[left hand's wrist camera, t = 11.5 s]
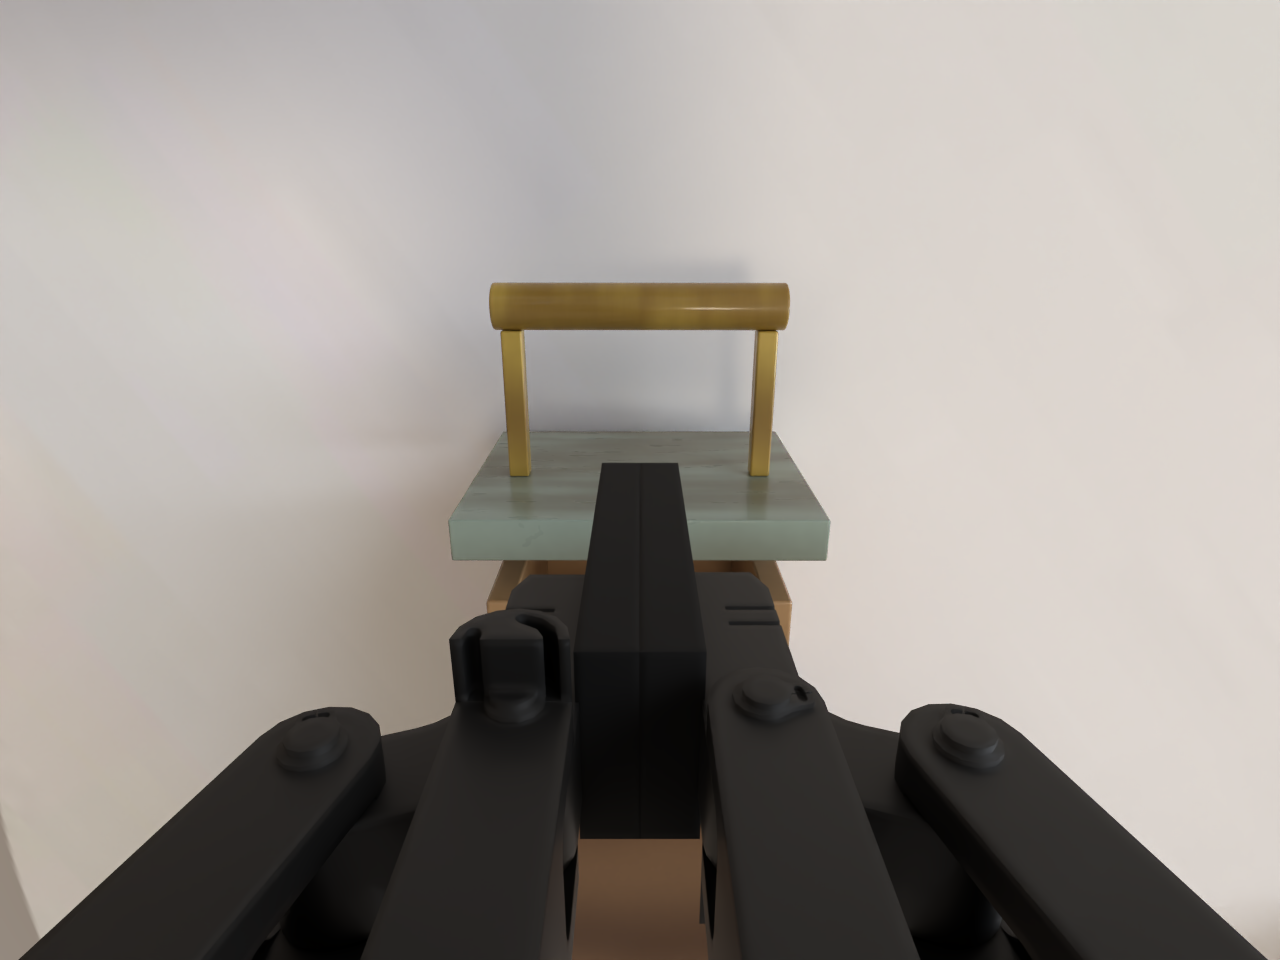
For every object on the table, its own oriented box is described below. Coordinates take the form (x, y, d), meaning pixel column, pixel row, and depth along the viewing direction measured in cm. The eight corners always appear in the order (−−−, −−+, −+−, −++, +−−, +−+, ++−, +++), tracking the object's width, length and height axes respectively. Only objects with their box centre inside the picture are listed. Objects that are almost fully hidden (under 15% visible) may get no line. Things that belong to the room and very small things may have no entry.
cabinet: (506, 624, 31) (446, 809, 21) (772, 625, 31) (832, 810, 21) (530, 965, 38) (493, 1219, 28) (747, 965, 38) (784, 1219, 28)
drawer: (492, 270, 25) (425, 297, 17) (786, 270, 25) (853, 297, 17) (529, 831, 34) (496, 1018, 26) (748, 831, 34) (781, 1018, 26)
